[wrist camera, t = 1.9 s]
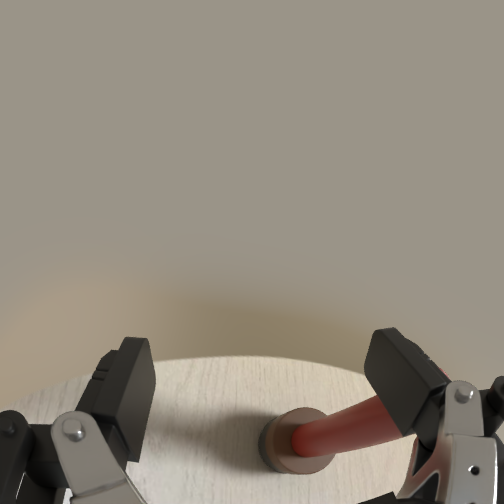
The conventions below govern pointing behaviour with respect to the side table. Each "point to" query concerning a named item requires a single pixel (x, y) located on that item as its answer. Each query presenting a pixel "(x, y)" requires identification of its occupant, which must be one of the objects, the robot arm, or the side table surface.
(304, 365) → the side table surface
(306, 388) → the side table surface
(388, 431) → the red peg on stand
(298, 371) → the side table surface
